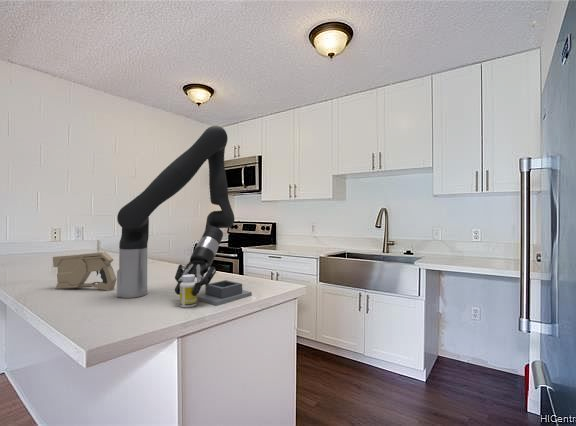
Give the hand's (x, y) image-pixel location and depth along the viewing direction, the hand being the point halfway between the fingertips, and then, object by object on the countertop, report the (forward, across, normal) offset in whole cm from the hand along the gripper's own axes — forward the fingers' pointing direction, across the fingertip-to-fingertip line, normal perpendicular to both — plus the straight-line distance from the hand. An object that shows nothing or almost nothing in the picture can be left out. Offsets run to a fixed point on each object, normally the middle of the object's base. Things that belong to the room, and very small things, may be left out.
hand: (185, 293), depth 97 cm
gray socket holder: (-7, +7, +13) cm, 16 cm away
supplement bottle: (+2, 0, +4) cm, 5 cm away
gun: (-3, -52, +9) cm, 53 cm away
